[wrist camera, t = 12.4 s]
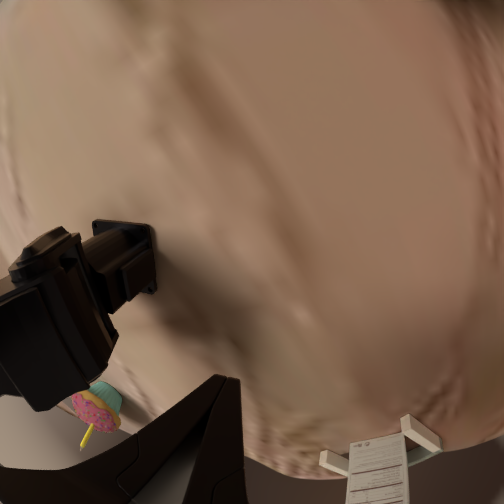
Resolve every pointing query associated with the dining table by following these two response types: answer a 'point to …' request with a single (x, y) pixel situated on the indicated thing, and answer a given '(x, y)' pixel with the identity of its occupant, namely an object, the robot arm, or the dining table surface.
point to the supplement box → (378, 471)
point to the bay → (417, 433)
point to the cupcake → (98, 408)
